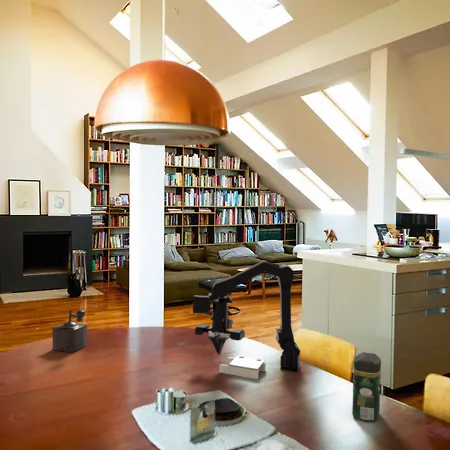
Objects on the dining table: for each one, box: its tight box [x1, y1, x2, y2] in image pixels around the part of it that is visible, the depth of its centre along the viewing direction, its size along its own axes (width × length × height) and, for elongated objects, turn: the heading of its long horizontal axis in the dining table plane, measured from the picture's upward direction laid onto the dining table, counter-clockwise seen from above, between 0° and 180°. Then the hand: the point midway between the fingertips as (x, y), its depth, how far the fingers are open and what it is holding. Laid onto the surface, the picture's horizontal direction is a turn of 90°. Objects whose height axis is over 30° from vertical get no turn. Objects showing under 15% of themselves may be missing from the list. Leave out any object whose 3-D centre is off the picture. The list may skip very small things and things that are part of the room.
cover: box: [229, 355, 266, 369], centre depth 179 cm, size 11×9×1 cm
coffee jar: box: [351, 351, 382, 422], centre depth 145 cm, size 10×8×19 cm
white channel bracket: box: [218, 356, 267, 380], centre depth 179 cm, size 15×9×3 cm, turn 67°
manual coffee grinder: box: [51, 308, 88, 353], centre depth 202 cm, size 16×11×18 cm
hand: (219, 354), depth 183 cm, fingers closed
